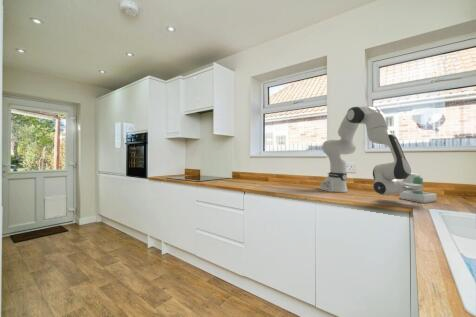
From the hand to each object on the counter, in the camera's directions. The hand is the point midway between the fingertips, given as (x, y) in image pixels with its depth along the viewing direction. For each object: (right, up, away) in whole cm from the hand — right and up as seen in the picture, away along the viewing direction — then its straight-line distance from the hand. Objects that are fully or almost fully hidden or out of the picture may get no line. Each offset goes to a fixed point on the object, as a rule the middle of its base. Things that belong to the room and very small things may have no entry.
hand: (408, 185), depth 141 cm
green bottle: (+9, -9, +5) cm, 14 cm away
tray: (+9, -10, +5) cm, 14 cm away
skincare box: (+16, -10, +20) cm, 28 cm away
